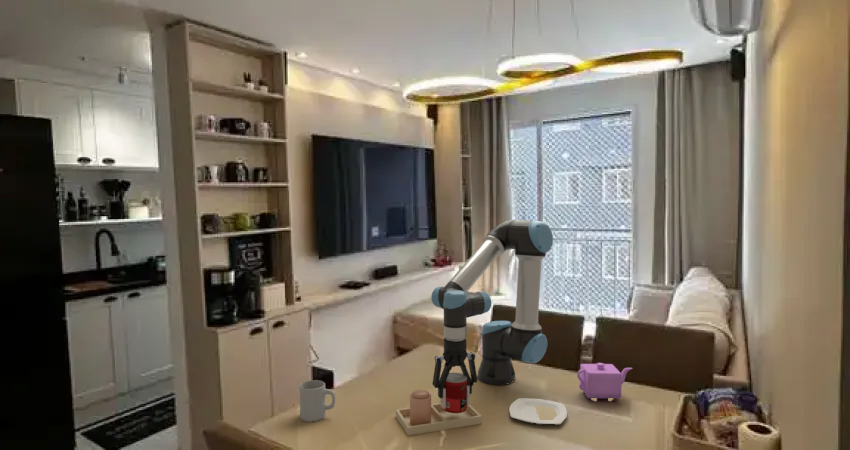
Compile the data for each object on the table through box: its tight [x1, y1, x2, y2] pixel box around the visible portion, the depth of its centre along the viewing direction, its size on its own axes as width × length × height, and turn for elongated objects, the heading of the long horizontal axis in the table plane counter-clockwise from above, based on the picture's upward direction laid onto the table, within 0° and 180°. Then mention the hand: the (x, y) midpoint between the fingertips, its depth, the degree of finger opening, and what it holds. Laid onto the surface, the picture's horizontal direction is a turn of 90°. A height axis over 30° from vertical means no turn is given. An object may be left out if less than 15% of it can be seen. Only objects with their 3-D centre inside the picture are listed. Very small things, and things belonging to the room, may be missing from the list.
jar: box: [409, 389, 432, 426], centre depth 164 cm, size 7×7×10 cm
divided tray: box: [395, 402, 483, 437], centre depth 166 cm, size 25×14×3 cm, turn 109°
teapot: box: [576, 362, 633, 399], centre depth 185 cm, size 20×10×12 cm, turn 88°
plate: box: [509, 397, 568, 425], centre depth 171 cm, size 19×19×2 cm
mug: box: [299, 379, 336, 423], centre depth 170 cm, size 12×8×11 cm
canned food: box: [444, 372, 467, 413], centre depth 167 cm, size 8×8×11 cm
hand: (455, 405), depth 168 cm, fingers closed on canned food, 8 cm apart
